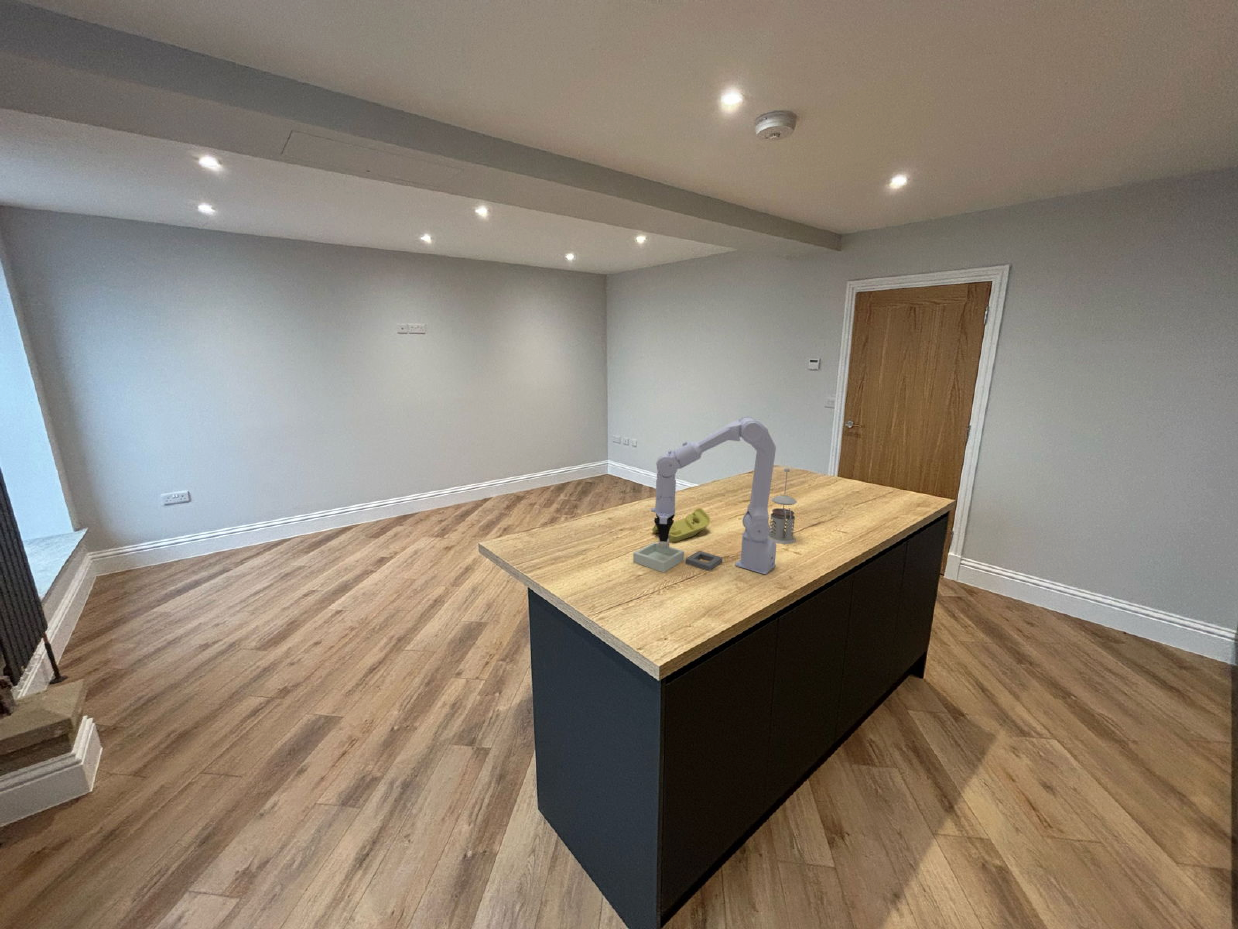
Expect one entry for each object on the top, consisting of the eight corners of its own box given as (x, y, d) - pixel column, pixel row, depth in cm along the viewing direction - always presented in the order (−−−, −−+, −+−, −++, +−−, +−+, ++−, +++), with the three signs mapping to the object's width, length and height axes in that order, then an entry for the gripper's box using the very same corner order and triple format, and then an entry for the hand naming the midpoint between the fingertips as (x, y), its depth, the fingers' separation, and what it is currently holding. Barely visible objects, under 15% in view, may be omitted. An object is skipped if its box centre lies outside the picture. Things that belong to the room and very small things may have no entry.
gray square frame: (722, 562, 139) (722, 557, 139) (709, 571, 133) (709, 566, 133) (698, 555, 144) (699, 550, 144) (685, 563, 138) (685, 558, 137)
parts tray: (683, 560, 140) (684, 551, 139) (663, 572, 132) (663, 563, 131) (654, 550, 147) (654, 541, 146) (633, 561, 138) (633, 552, 138)
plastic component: (672, 538, 151) (655, 518, 157) (666, 553, 156) (650, 533, 162) (715, 523, 162) (698, 504, 168) (709, 537, 166) (692, 519, 172)
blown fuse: (671, 546, 138) (672, 525, 137) (665, 549, 136) (665, 528, 134) (662, 543, 140) (662, 523, 139) (655, 546, 138) (656, 526, 136)
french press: (791, 533, 163) (798, 465, 157) (800, 546, 151) (808, 473, 146) (763, 532, 163) (768, 464, 158) (770, 545, 152) (776, 472, 147)
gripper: (654, 487, 142) (652, 529, 145) (649, 501, 128) (648, 547, 131) (677, 489, 141) (675, 530, 144) (674, 503, 127) (673, 549, 130)
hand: (663, 538), depth 138 cm, fingers closed on blown fuse, 3 cm apart
